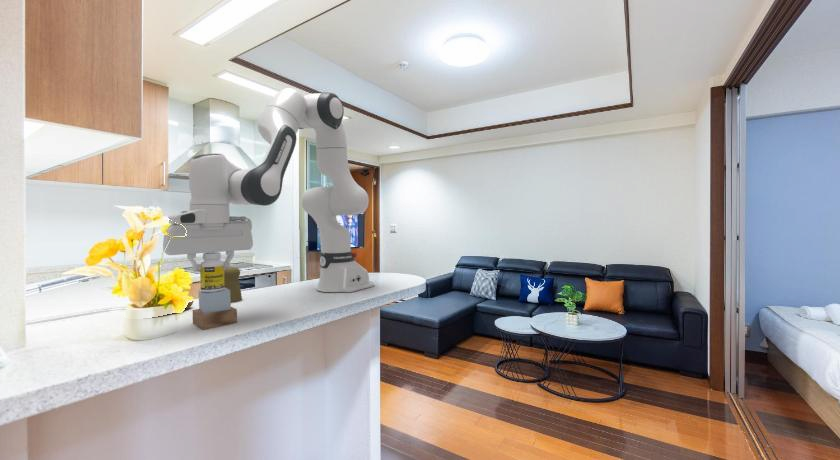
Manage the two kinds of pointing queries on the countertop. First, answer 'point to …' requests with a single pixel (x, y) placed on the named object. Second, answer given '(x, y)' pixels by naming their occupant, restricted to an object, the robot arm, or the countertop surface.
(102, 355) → the countertop surface
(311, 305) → the countertop surface
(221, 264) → the supplement bottle
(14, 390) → the countertop surface
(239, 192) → the robot arm
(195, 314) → the base block
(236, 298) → the cork
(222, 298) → the blue block
